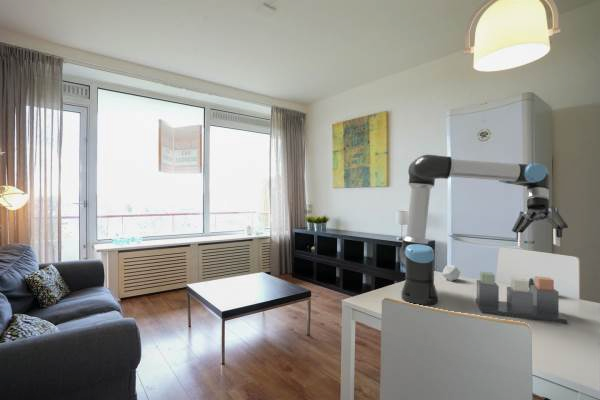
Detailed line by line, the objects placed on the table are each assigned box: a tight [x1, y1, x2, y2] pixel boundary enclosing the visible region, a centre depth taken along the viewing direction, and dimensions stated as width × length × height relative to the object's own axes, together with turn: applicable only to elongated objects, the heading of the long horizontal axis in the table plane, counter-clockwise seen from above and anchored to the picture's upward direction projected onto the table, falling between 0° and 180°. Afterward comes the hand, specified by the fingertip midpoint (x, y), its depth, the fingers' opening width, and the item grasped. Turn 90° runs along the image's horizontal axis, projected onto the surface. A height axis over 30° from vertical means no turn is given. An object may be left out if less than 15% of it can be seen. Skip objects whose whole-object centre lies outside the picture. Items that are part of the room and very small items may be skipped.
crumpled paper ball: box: [442, 264, 461, 282], centre depth 160 cm, size 8×9×10 cm
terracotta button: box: [534, 275, 555, 291], centre depth 114 cm, size 4×4×8 cm
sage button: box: [479, 271, 496, 285], centre depth 121 cm, size 4×4×8 cm
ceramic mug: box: [528, 277, 535, 291], centre depth 137 cm, size 10×8×7 cm
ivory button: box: [510, 276, 529, 292], centre depth 112 cm, size 4×4×8 cm
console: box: [475, 279, 568, 325], centre depth 115 cm, size 26×13×10 cm, turn 68°
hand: (537, 246), depth 122 cm, fingers open, 13 cm apart
